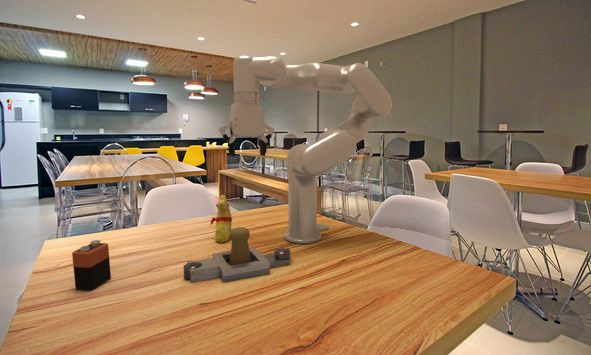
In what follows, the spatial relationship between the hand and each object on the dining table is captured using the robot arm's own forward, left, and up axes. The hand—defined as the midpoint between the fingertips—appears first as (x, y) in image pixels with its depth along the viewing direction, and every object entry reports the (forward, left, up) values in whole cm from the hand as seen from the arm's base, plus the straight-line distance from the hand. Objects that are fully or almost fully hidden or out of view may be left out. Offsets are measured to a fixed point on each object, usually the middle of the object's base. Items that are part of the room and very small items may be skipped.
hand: (247, 155), depth 103 cm
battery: (+42, +12, -28) cm, 52 cm away
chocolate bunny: (+7, -9, -28) cm, 31 cm away
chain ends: (+8, +18, -28) cm, 34 cm away
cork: (+8, +18, -28) cm, 35 cm away
